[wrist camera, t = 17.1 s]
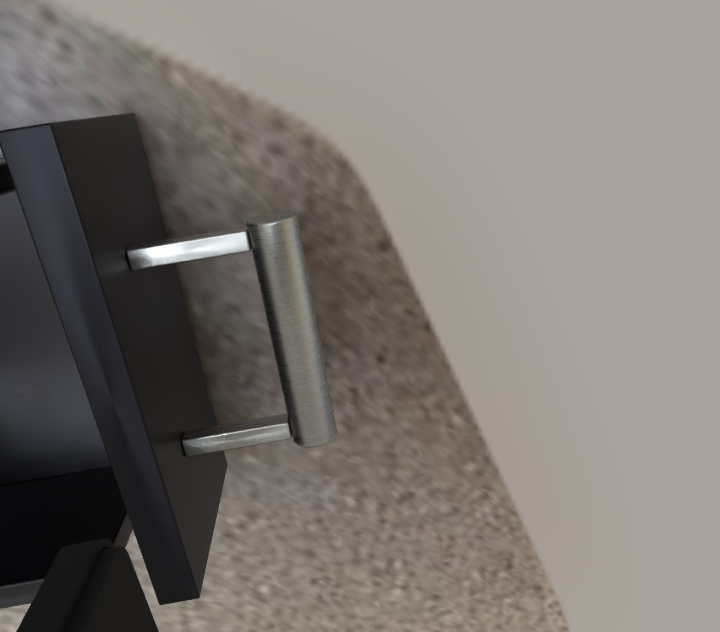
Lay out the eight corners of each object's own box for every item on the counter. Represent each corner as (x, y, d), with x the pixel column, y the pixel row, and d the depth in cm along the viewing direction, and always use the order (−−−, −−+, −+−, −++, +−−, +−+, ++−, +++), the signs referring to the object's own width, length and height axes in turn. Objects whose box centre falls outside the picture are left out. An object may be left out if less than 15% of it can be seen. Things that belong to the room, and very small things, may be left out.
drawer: (280, 89, 19) (268, 88, 13) (344, 445, 24) (358, 570, 18) (-264, 175, 19) (-549, 217, 13) (-90, 520, 24) (-234, 676, 17)
